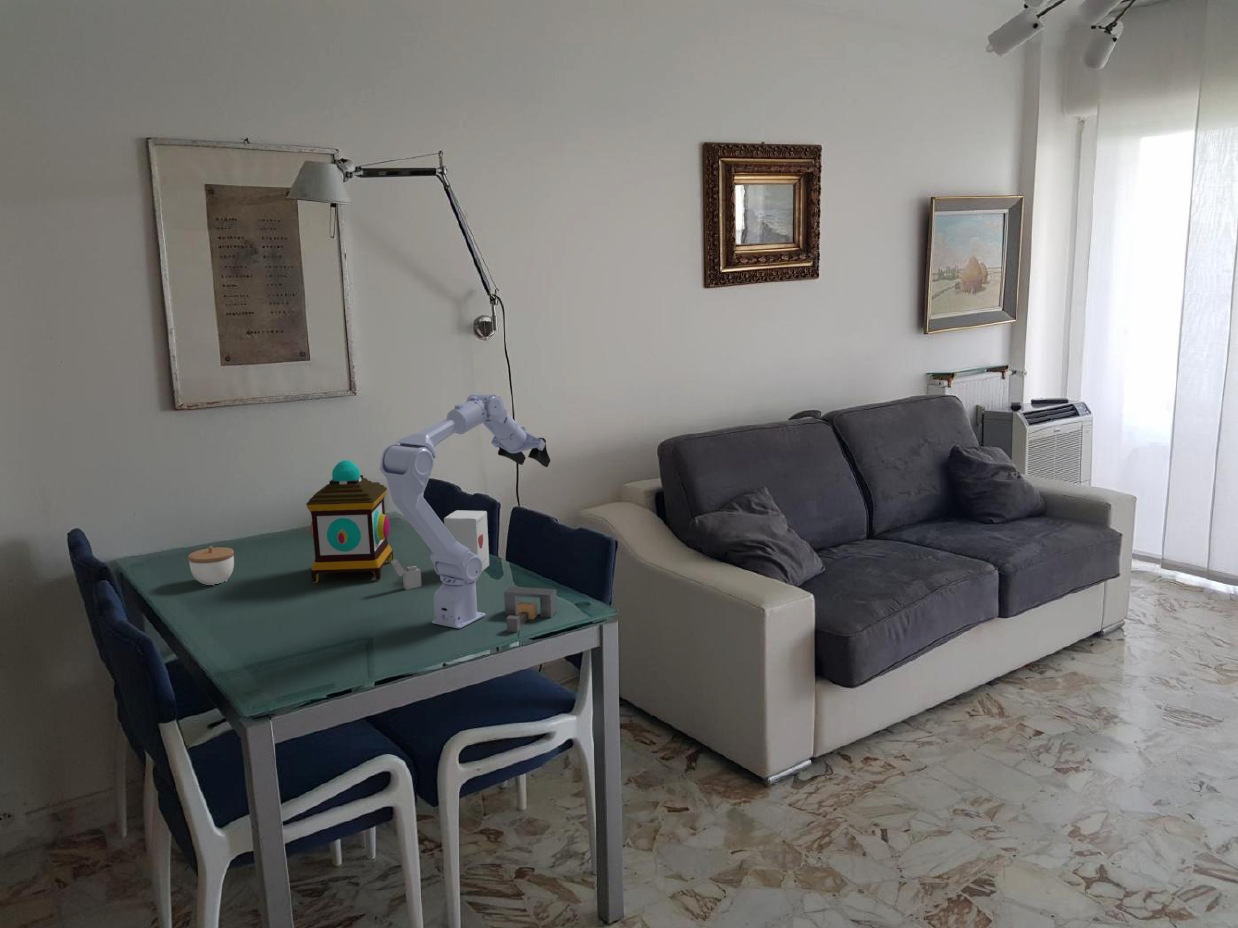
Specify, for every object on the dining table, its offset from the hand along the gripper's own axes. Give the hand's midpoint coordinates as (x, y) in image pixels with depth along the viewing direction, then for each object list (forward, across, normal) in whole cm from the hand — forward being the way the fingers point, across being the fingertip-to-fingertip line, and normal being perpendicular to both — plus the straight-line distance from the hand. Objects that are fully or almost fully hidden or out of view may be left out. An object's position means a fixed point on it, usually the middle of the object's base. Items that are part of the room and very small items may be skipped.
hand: (535, 462), depth 229 cm
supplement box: (+22, +25, +22) cm, 40 cm away
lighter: (+8, +28, +35) cm, 45 cm away
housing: (+9, -10, +34) cm, 37 cm away
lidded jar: (-9, +76, +49) cm, 90 cm away
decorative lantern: (+9, +50, +33) cm, 61 cm away
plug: (+5, -12, +38) cm, 41 cm away
